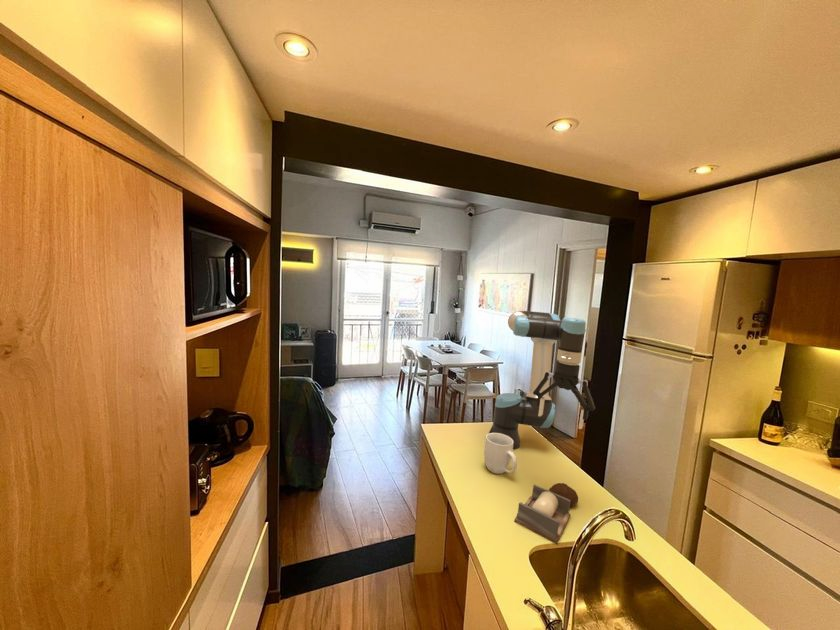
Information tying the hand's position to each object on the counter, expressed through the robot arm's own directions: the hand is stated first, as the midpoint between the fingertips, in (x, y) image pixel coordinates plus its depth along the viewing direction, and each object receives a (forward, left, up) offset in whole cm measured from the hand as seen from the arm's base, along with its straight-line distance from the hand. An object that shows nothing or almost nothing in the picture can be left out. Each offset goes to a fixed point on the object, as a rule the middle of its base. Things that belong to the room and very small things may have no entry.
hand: (559, 421), depth 118 cm
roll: (+14, +2, -27) cm, 31 cm away
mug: (-2, -21, -29) cm, 36 cm away
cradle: (+14, +2, -28) cm, 32 cm away
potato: (0, +5, -29) cm, 29 cm away
